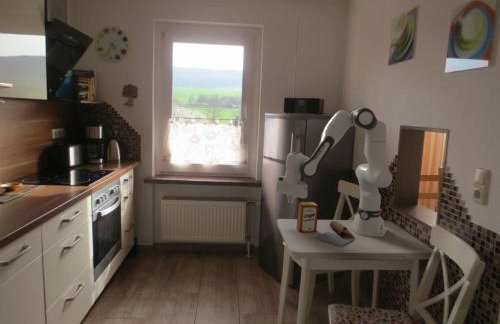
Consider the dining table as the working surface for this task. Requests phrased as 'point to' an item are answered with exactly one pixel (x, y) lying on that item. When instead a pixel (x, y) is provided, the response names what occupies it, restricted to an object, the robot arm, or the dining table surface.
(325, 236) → the mat
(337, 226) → the sunglasses case
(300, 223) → the baking soda box
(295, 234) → the dining table surface
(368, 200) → the robot arm
